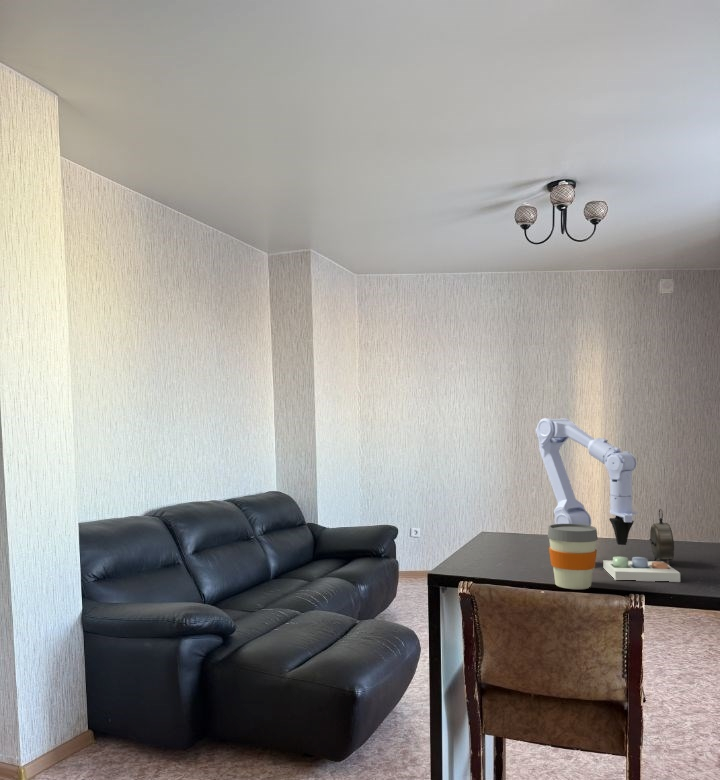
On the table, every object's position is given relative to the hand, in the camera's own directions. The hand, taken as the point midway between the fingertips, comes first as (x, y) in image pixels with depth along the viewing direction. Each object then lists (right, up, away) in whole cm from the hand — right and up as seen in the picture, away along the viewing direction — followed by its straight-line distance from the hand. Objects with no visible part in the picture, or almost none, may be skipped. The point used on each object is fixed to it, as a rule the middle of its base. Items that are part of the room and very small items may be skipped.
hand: (621, 544), depth 190 cm
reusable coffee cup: (-17, -8, -11) cm, 22 cm away
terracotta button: (+10, -8, -1) cm, 13 cm away
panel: (+5, -8, -1) cm, 10 cm away
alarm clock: (+17, -9, +14) cm, 24 cm away
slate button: (+5, -7, -1) cm, 8 cm away
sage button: (0, -7, 0) cm, 7 cm away
